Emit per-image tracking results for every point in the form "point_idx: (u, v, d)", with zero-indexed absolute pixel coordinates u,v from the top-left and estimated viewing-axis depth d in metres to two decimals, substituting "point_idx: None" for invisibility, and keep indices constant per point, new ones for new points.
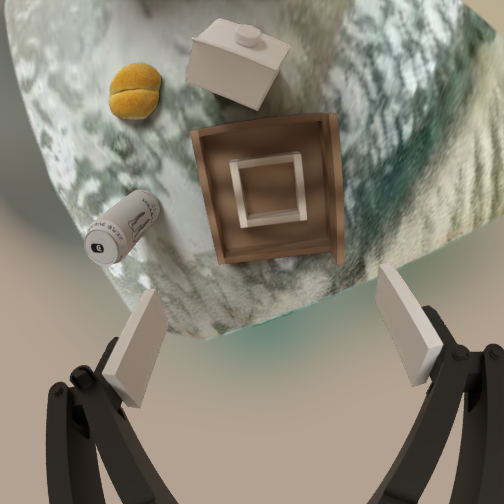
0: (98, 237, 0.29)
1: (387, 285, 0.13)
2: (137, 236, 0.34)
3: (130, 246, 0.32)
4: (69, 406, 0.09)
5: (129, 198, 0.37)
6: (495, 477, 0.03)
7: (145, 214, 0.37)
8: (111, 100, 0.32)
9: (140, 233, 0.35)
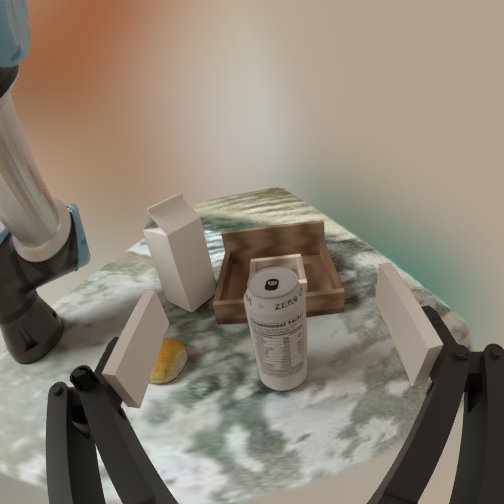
0: (258, 280, 0.27)
1: (387, 284, 0.14)
2: None
3: None
4: (69, 406, 0.09)
5: None
6: (495, 477, 0.03)
7: None
8: None
9: None
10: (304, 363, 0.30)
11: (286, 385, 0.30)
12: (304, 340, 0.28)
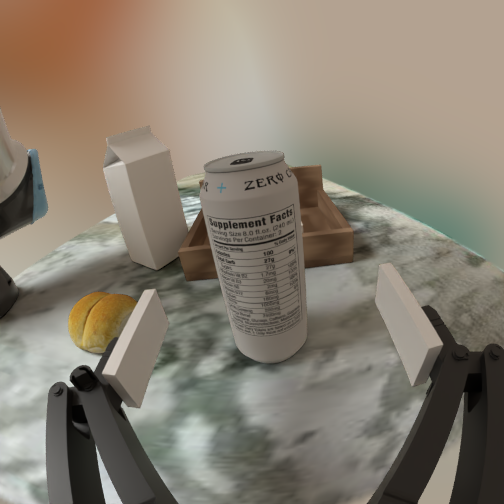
0: (221, 162, 0.17)
1: (387, 284, 0.14)
2: None
3: None
4: (69, 406, 0.09)
5: None
6: (495, 477, 0.03)
7: None
8: (86, 330, 0.23)
9: None
10: (302, 313, 0.20)
11: (275, 352, 0.20)
12: (300, 267, 0.18)
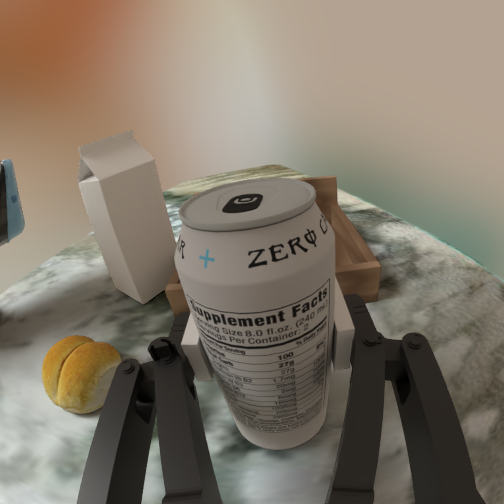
0: (209, 200, 0.10)
1: None
2: None
3: None
4: (136, 388, 0.10)
5: None
6: (453, 463, 0.05)
7: None
8: (60, 388, 0.17)
9: None
10: (324, 401, 0.13)
11: (286, 443, 0.13)
12: (329, 356, 0.12)
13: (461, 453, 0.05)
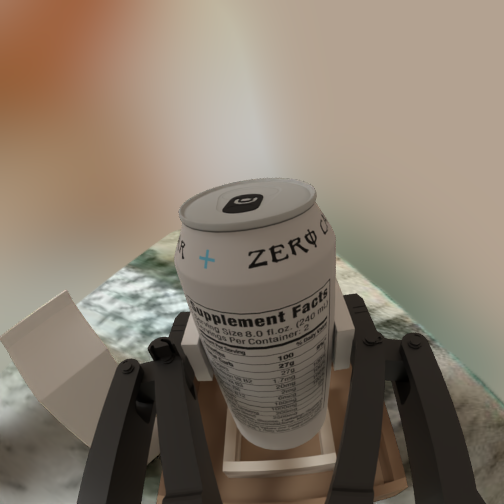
0: (209, 200, 0.10)
1: None
2: None
3: None
4: (136, 388, 0.10)
5: None
6: (453, 463, 0.05)
7: None
8: None
9: None
10: (324, 402, 0.13)
11: (287, 443, 0.13)
12: (329, 357, 0.12)
13: (461, 452, 0.05)
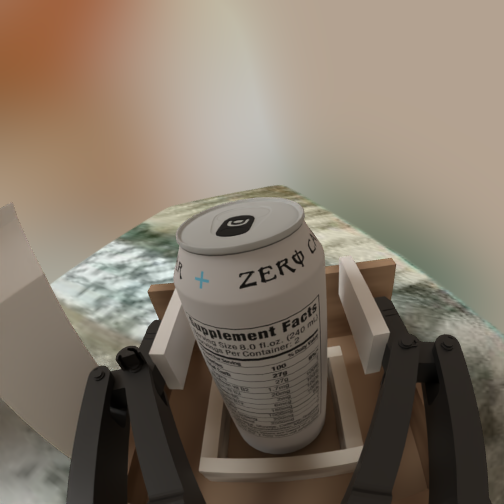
0: (205, 222, 0.11)
1: (345, 276, 0.15)
2: None
3: None
4: (109, 393, 0.10)
5: None
6: (471, 467, 0.04)
7: None
8: None
9: None
10: (321, 408, 0.14)
11: (286, 448, 0.14)
12: (323, 366, 0.12)
13: (480, 457, 0.04)
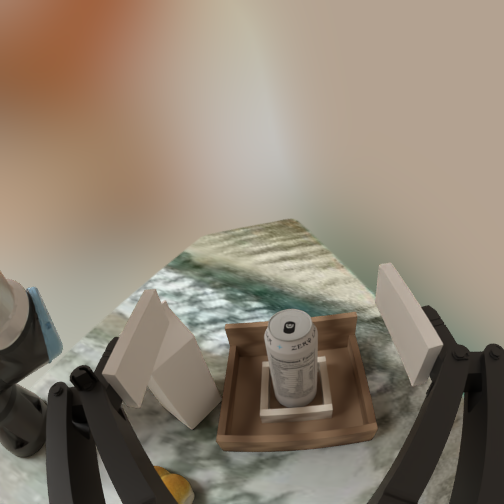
0: (277, 323, 0.30)
1: (387, 285, 0.14)
2: None
3: None
4: (69, 406, 0.09)
5: None
6: (495, 477, 0.03)
7: None
8: None
9: None
10: (314, 386, 0.33)
11: (298, 404, 0.34)
12: (315, 369, 0.32)
13: None
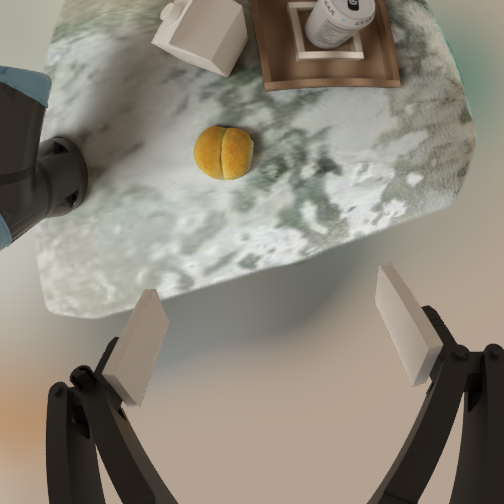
0: None
1: (387, 284, 0.14)
2: None
3: None
4: (69, 406, 0.09)
5: (309, 18, 0.26)
6: (495, 477, 0.03)
7: None
8: (228, 174, 0.41)
9: None
10: None
11: (332, 47, 0.30)
12: None
13: None
